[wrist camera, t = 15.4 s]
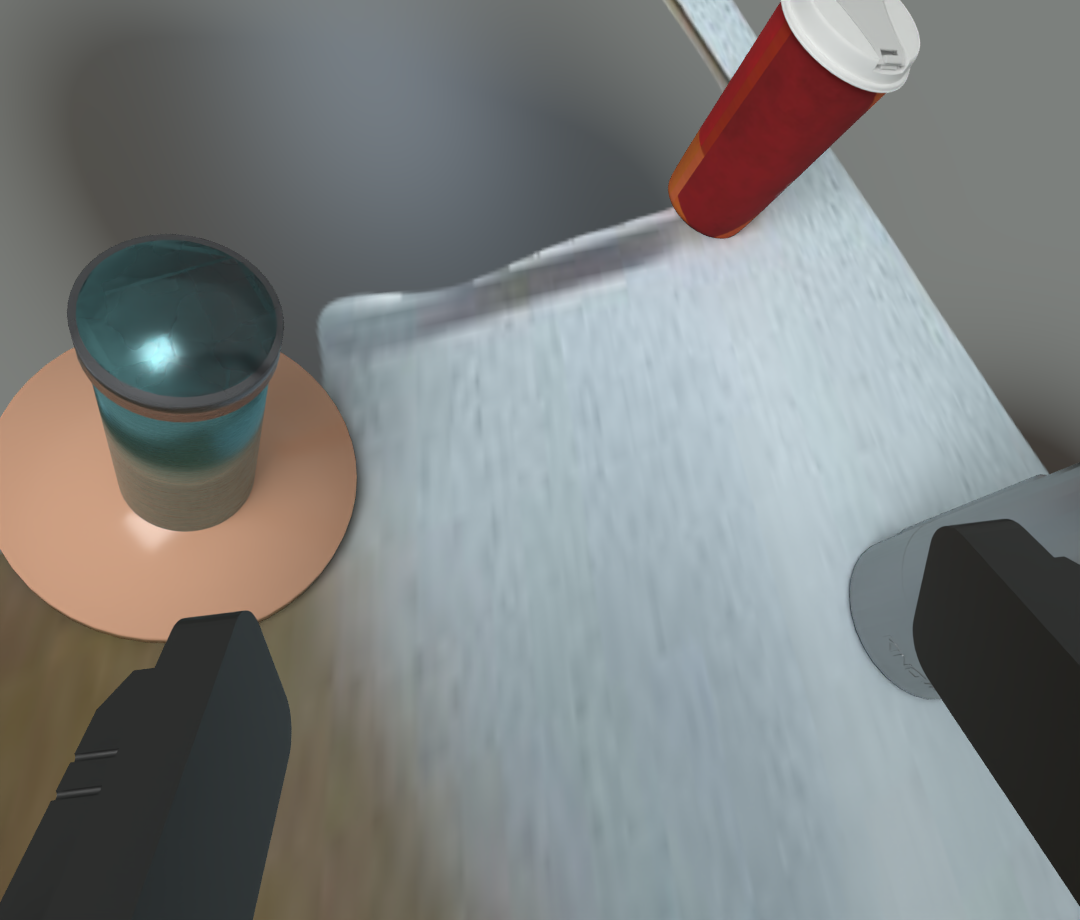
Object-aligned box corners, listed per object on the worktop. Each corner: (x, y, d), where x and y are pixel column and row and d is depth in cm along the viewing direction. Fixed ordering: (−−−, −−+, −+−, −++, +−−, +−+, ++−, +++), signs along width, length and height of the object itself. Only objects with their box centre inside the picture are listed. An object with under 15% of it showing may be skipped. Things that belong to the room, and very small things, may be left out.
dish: (204, 283, 37) (204, 271, 36) (415, 489, 37) (420, 481, 36) (-99, 462, 30) (-108, 452, 29) (164, 720, 30) (163, 717, 29)
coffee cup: (776, 248, 54) (954, 73, 41) (682, 257, 50) (845, 67, 37) (726, 151, 56) (881, -45, 43) (633, 152, 52) (772, -61, 39)
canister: (195, 387, 34) (191, 205, 24) (287, 476, 34) (323, 332, 24) (79, 466, 31) (17, 296, 21) (180, 564, 31) (168, 442, 21)
